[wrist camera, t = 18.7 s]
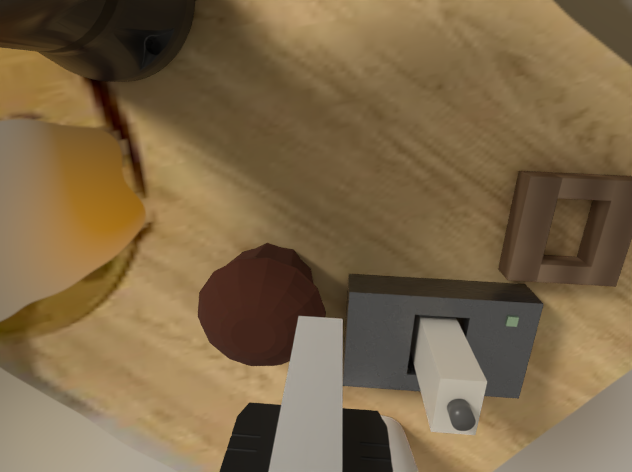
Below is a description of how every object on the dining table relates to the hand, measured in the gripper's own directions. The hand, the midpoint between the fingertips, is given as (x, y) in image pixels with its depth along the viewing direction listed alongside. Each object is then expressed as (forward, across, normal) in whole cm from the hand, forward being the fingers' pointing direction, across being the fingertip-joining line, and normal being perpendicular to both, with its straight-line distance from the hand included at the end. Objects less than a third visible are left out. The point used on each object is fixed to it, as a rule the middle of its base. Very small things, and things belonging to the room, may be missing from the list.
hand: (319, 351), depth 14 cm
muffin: (+27, -6, -11) cm, 29 cm away
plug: (+26, +11, -15) cm, 32 cm away
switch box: (+26, +11, -15) cm, 32 cm away
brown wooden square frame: (+26, +22, -3) cm, 35 cm away
